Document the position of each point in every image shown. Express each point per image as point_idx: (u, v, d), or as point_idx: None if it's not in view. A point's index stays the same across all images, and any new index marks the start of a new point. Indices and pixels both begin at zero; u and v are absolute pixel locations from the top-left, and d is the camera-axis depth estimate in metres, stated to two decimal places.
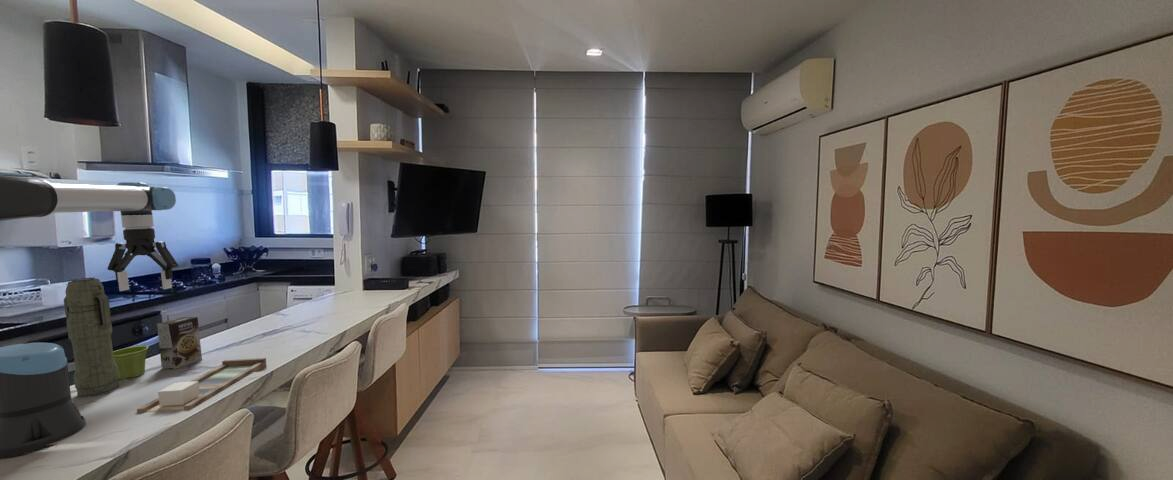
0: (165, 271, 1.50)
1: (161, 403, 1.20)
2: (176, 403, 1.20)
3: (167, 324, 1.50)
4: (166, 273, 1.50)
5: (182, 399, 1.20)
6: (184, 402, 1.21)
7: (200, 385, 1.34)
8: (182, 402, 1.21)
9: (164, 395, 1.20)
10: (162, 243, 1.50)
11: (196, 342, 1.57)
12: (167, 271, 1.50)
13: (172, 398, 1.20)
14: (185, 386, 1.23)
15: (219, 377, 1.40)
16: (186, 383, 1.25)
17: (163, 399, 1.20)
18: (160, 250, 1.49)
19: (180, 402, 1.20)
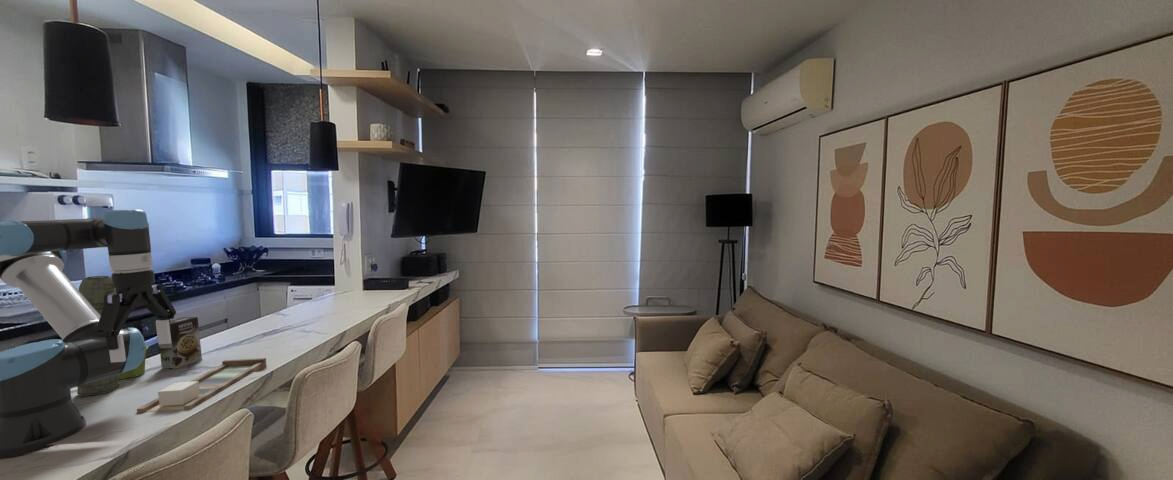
0: None
1: (161, 403, 1.20)
2: (176, 403, 1.20)
3: None
4: None
5: (182, 399, 1.20)
6: (184, 402, 1.21)
7: (200, 385, 1.34)
8: (182, 402, 1.21)
9: (164, 395, 1.20)
10: (109, 298, 1.04)
11: (196, 342, 1.57)
12: None
13: (172, 398, 1.20)
14: (185, 386, 1.23)
15: (219, 377, 1.40)
16: (186, 383, 1.25)
17: (163, 399, 1.20)
18: None
19: (180, 402, 1.20)
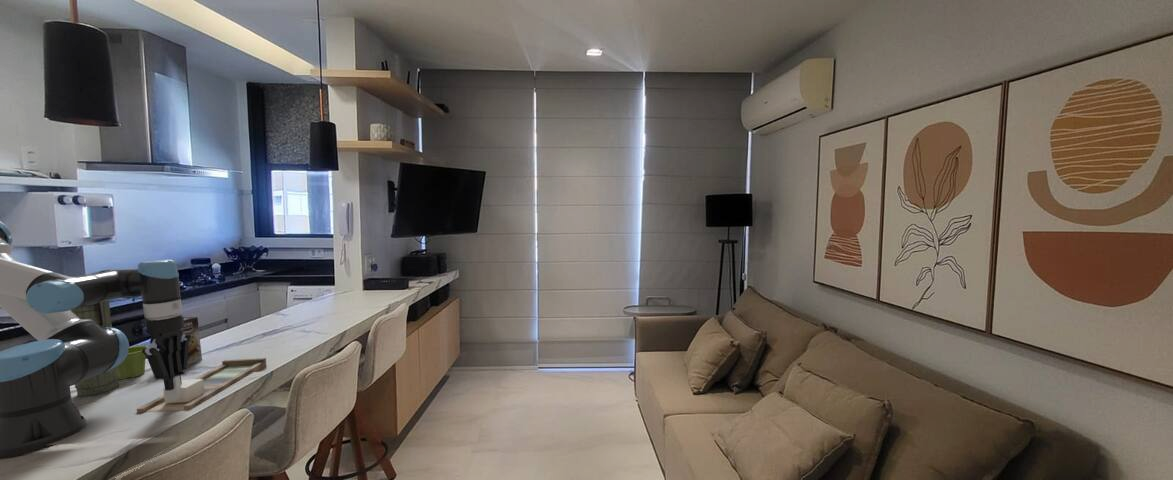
0: None
1: (167, 400, 1.22)
2: (181, 400, 1.22)
3: None
4: None
5: (187, 396, 1.22)
6: (189, 399, 1.23)
7: None
8: (187, 399, 1.22)
9: None
10: (148, 352, 1.14)
11: (196, 342, 1.57)
12: None
13: None
14: (190, 384, 1.24)
15: (219, 377, 1.40)
16: (191, 381, 1.26)
17: None
18: None
19: (185, 399, 1.22)
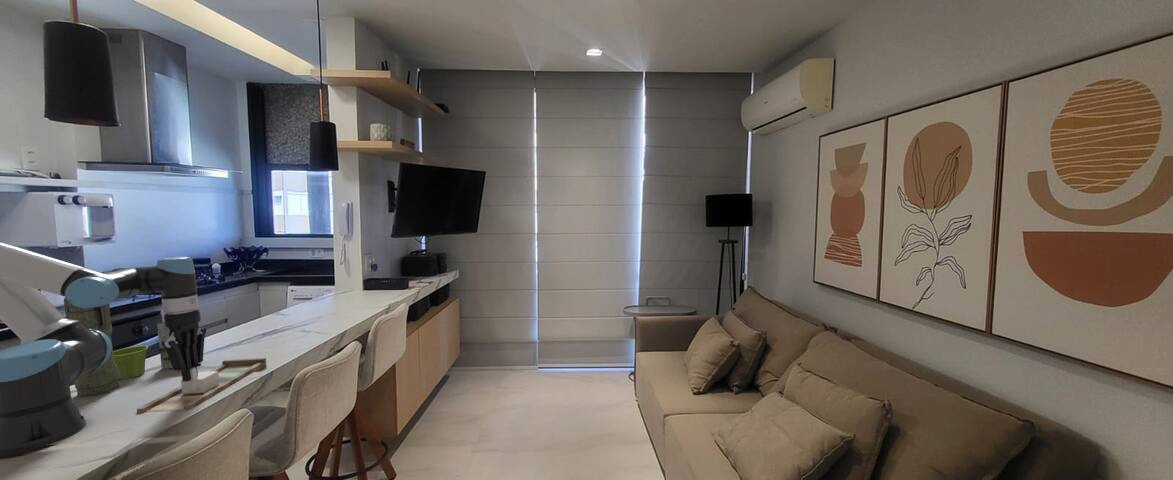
0: None
1: (184, 391, 1.27)
2: (197, 391, 1.28)
3: None
4: None
5: (203, 387, 1.28)
6: (205, 390, 1.28)
7: None
8: (203, 390, 1.28)
9: None
10: (167, 345, 1.19)
11: None
12: None
13: None
14: (206, 375, 1.30)
15: (219, 377, 1.40)
16: (207, 373, 1.32)
17: None
18: None
19: (201, 390, 1.28)
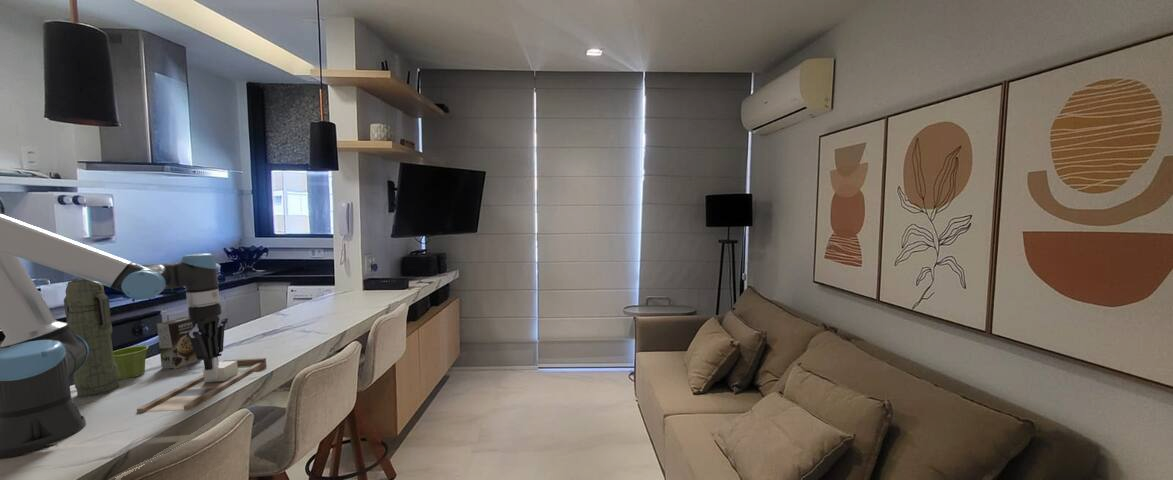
0: None
1: (206, 379, 1.36)
2: (218, 379, 1.36)
3: (167, 324, 1.50)
4: None
5: (224, 376, 1.36)
6: (225, 379, 1.37)
7: (200, 385, 1.34)
8: (224, 378, 1.36)
9: None
10: (191, 335, 1.28)
11: None
12: None
13: None
14: (226, 365, 1.38)
15: None
16: (226, 362, 1.41)
17: None
18: None
19: (222, 378, 1.36)
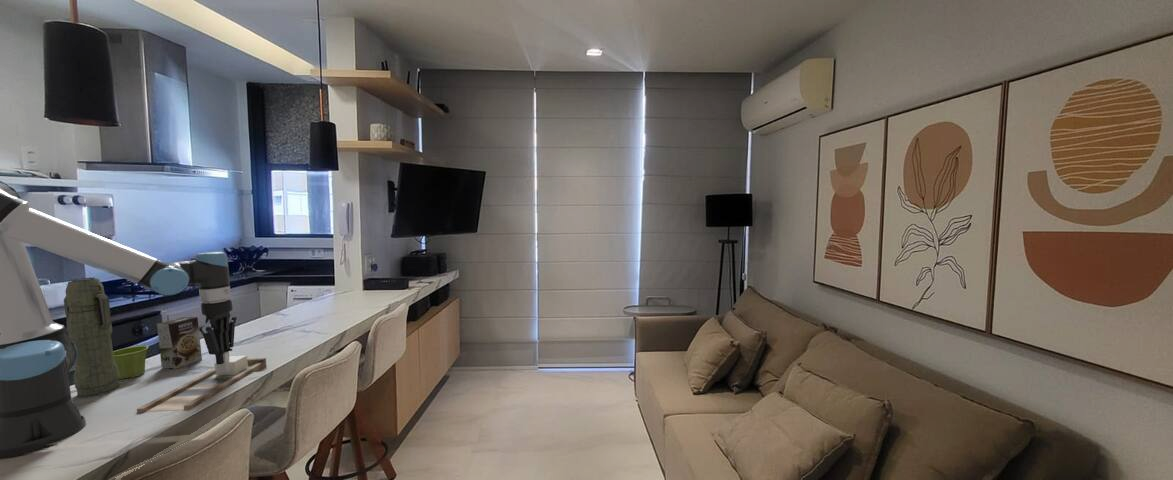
0: None
1: (217, 373, 1.41)
2: (229, 373, 1.41)
3: (167, 324, 1.50)
4: None
5: (235, 370, 1.41)
6: (236, 372, 1.42)
7: (200, 385, 1.34)
8: (235, 372, 1.41)
9: None
10: (204, 330, 1.33)
11: (196, 342, 1.57)
12: None
13: None
14: (236, 359, 1.43)
15: (219, 377, 1.40)
16: (237, 357, 1.46)
17: None
18: None
19: (233, 372, 1.41)
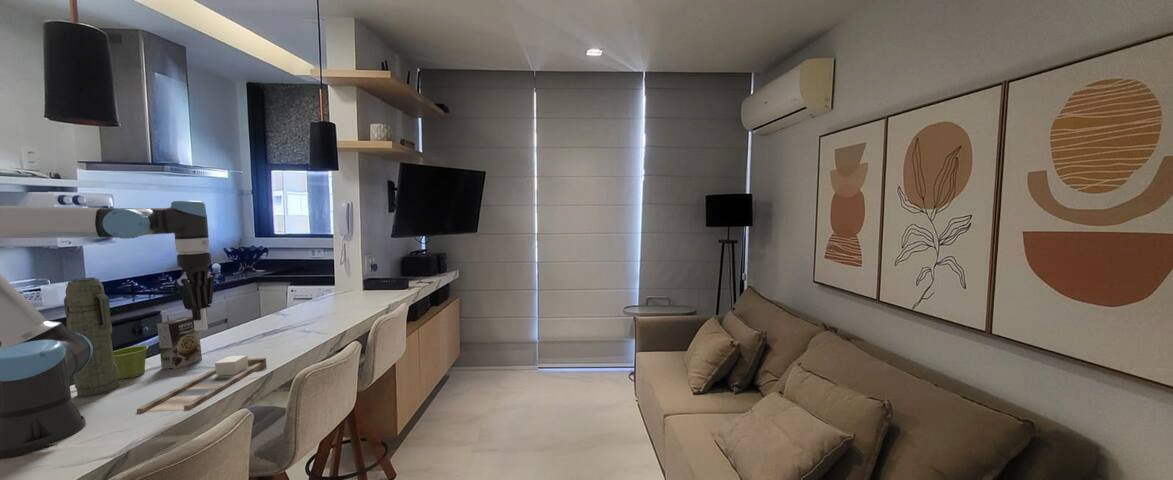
0: None
1: (218, 373, 1.41)
2: (230, 373, 1.41)
3: (167, 324, 1.50)
4: None
5: (235, 369, 1.41)
6: (236, 372, 1.42)
7: (200, 385, 1.34)
8: (235, 372, 1.42)
9: (220, 366, 1.41)
10: (179, 282, 1.24)
11: (196, 342, 1.57)
12: None
13: (227, 369, 1.41)
14: (237, 359, 1.44)
15: (219, 377, 1.40)
16: (237, 356, 1.46)
17: (219, 369, 1.41)
18: None
19: (233, 372, 1.41)
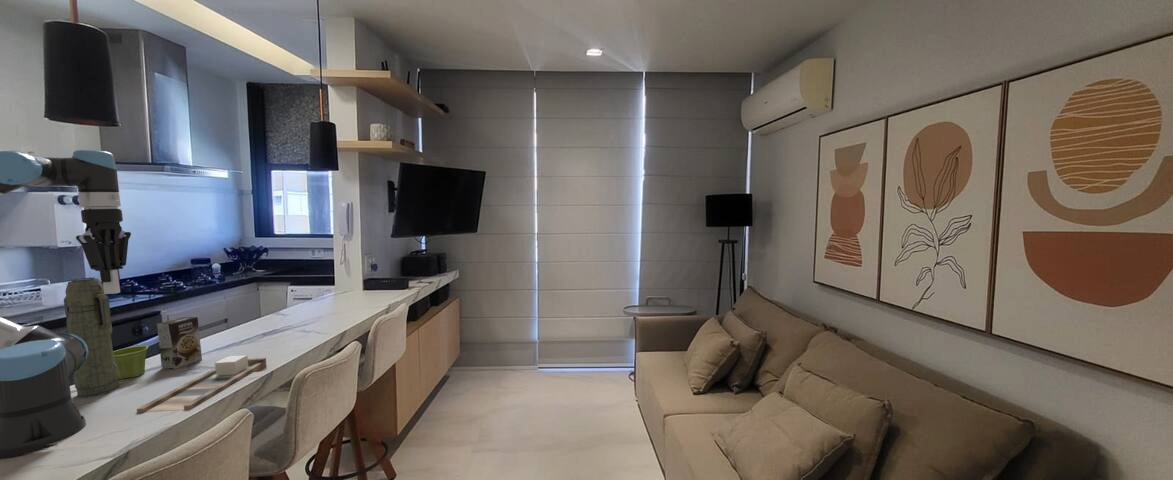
0: None
1: (218, 373, 1.41)
2: (230, 373, 1.41)
3: (167, 324, 1.50)
4: None
5: (235, 369, 1.41)
6: (236, 372, 1.42)
7: (200, 385, 1.34)
8: (235, 372, 1.42)
9: (220, 366, 1.41)
10: (82, 239, 1.14)
11: (196, 342, 1.57)
12: None
13: (227, 369, 1.41)
14: (237, 359, 1.44)
15: (219, 377, 1.40)
16: (237, 356, 1.46)
17: (219, 369, 1.41)
18: None
19: (233, 372, 1.41)
